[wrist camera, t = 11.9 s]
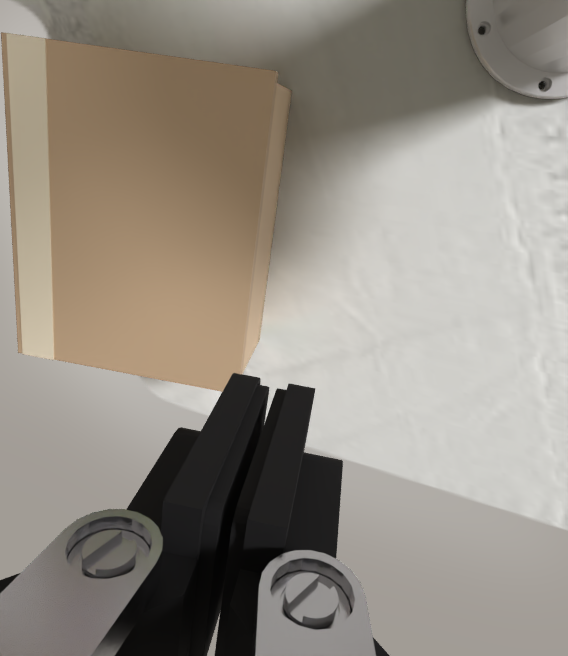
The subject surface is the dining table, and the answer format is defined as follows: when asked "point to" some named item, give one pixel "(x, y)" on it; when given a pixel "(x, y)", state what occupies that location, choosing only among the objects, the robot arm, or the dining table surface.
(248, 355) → the cardboard box
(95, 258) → the box lid
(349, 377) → the dining table surface
